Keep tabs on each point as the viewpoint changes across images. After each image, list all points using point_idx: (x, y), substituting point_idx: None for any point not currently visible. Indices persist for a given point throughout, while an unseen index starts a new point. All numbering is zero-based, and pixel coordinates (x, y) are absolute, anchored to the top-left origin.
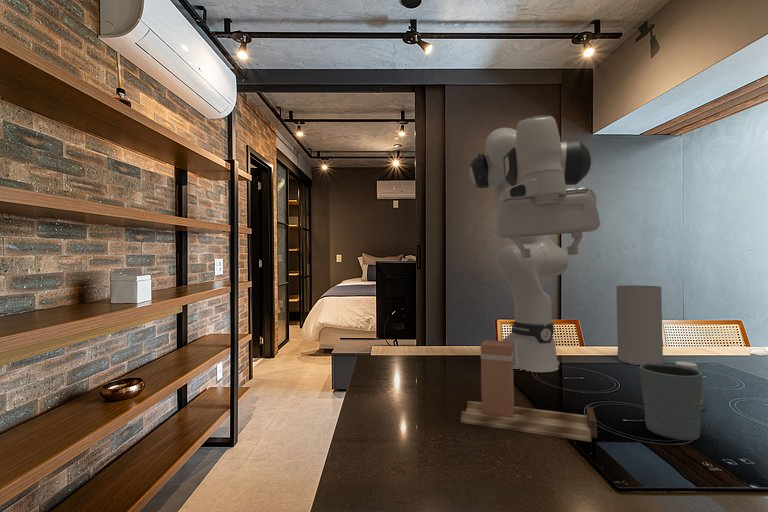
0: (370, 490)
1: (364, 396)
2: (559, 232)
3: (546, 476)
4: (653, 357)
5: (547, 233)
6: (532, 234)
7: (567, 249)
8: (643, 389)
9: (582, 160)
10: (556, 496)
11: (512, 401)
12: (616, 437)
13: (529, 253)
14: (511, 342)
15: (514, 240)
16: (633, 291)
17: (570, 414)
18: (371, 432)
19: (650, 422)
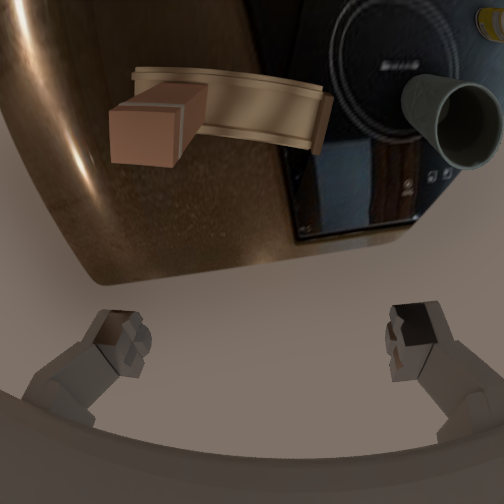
0: (113, 271)
1: (6, 90)
2: (375, 470)
3: (238, 231)
4: None
5: (245, 472)
6: (111, 446)
7: (400, 331)
8: (421, 110)
9: None
10: (243, 257)
11: (200, 115)
12: (346, 129)
13: (143, 355)
14: (171, 120)
15: (34, 388)
16: None
17: (298, 91)
18: (60, 187)
19: (404, 109)
